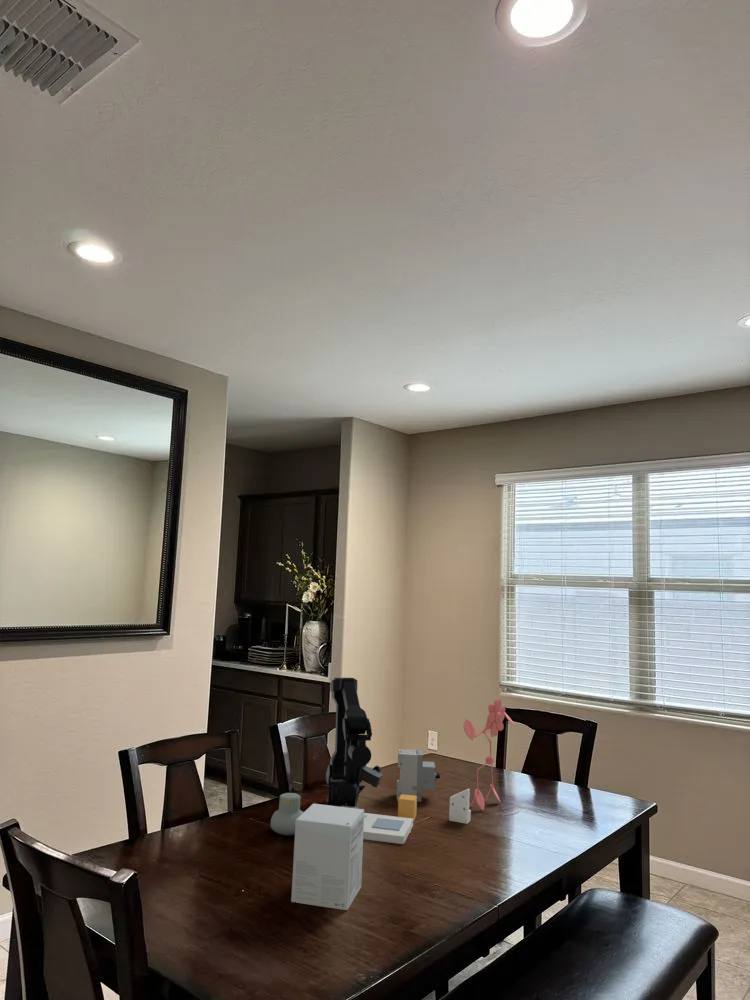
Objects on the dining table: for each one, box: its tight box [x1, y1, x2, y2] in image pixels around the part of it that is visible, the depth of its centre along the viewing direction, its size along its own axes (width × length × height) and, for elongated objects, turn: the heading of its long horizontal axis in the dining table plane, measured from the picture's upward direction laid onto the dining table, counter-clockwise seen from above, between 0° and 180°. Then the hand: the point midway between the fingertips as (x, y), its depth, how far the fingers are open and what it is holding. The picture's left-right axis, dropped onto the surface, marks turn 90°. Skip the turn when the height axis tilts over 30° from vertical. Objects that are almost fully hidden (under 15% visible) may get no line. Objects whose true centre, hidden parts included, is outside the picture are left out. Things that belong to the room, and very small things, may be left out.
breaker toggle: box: [340, 805, 360, 809], centre depth 200 cm, size 5×3×4 cm, turn 78°
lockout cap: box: [397, 794, 418, 822], centre depth 212 cm, size 5×5×6 cm
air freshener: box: [270, 792, 305, 836], centre depth 195 cm, size 11×8×10 cm
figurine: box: [463, 698, 520, 817], centre depth 227 cm, size 15×26×35 cm, turn 140°
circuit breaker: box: [396, 748, 441, 803], centre depth 233 cm, size 8×14×15 cm, turn 89°
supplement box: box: [290, 803, 365, 911], centre depth 157 cm, size 13×13×18 cm
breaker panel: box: [363, 812, 414, 845], centre depth 199 cm, size 20×16×2 cm
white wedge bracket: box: [448, 788, 472, 825], centre depth 212 cm, size 4×10×9 cm, turn 65°
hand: (352, 812), depth 203 cm, fingers closed
